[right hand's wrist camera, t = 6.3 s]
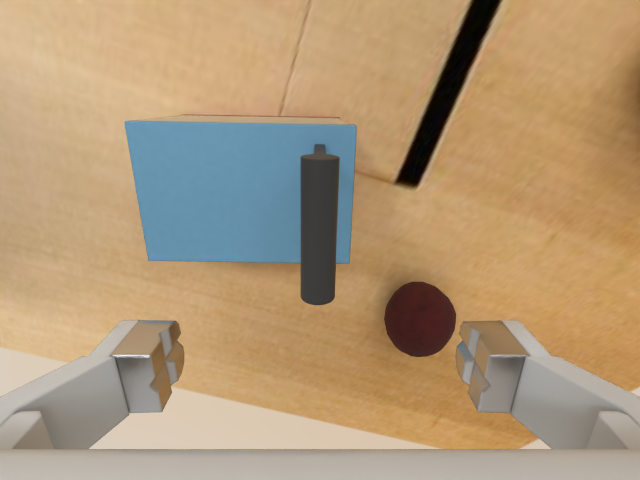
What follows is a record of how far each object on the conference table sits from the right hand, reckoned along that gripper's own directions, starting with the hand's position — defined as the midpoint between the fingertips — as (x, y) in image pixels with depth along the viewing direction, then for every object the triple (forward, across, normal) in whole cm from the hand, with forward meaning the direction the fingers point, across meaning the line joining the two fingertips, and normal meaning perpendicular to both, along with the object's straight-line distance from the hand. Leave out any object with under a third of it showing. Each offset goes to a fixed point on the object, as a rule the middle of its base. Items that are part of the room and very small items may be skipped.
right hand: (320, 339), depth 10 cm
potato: (+27, +10, -15) cm, 33 cm away
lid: (+17, -5, 0) cm, 18 cm away
